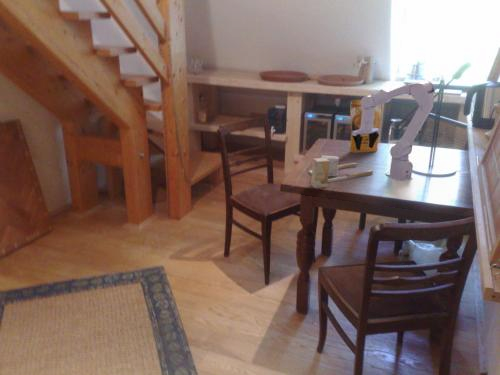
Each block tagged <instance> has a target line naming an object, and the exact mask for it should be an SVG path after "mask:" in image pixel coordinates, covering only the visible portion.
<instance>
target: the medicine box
mask: <svg viewBox="0 0 500 375" xmlns="http://www.w3.org/2000/svg"><path fill="white" fill-rule="evenodd" d="M320 158H327V159H328V160H329V161H330V163H329V174H328V177H332V178H337V177H338V170H339V169H338V165H339V156H336V155H335V156H334V155H321V157H320Z"/></svg>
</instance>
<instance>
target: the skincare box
mask: <svg viewBox="0 0 500 375" xmlns="http://www.w3.org/2000/svg"><path fill="white" fill-rule="evenodd" d="M329 163H330V161H329V160H328V159H327V158H321V157H319V158H318V157H317V158H312V168H311V170H312V174H311V180H310V185H311V186H312V187H313V188H314V189H319V188H328V183H329V182H328V179H329V176H328V174H329Z"/></svg>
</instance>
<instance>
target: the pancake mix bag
mask: <svg viewBox="0 0 500 375" xmlns="http://www.w3.org/2000/svg"><path fill="white" fill-rule="evenodd" d="M362 108H363V107H362V106H361V99H352V100H350V105H349V112H350V119H349V120H350V121H349V122H350V147H349V151H348V153H354V154H356V153H362V154H363V153H376V152H377V151H378V149H379V148H378V144H379V140H380V136H379V137H378V138H377V140H376V141H375V143H374V146H373V148H370V147H369V134H363V135H360V136H361V137H363V139H362V142H361V147H360V150H357V149H356V145H355V141H354V138H353V135H352V133H353V131H356V130H359V129H360V127H361V117H362ZM382 110H383V104H381V105H378V106H376V107H375V113H374V122H373V128H378V129H380V130H381V127H382V118H383V111H382ZM377 134H379V135H380V133H377Z"/></svg>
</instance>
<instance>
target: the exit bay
mask: <svg viewBox="0 0 500 375" xmlns="http://www.w3.org/2000/svg"><path fill="white" fill-rule="evenodd" d="M308 173H309V174H310V175H312V169H311V170H308ZM347 179H348V178H347V176H346V175H344V176H339V177H338V176H337V177H332V178H328V183H330V182H336V181H342V180H347Z"/></svg>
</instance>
